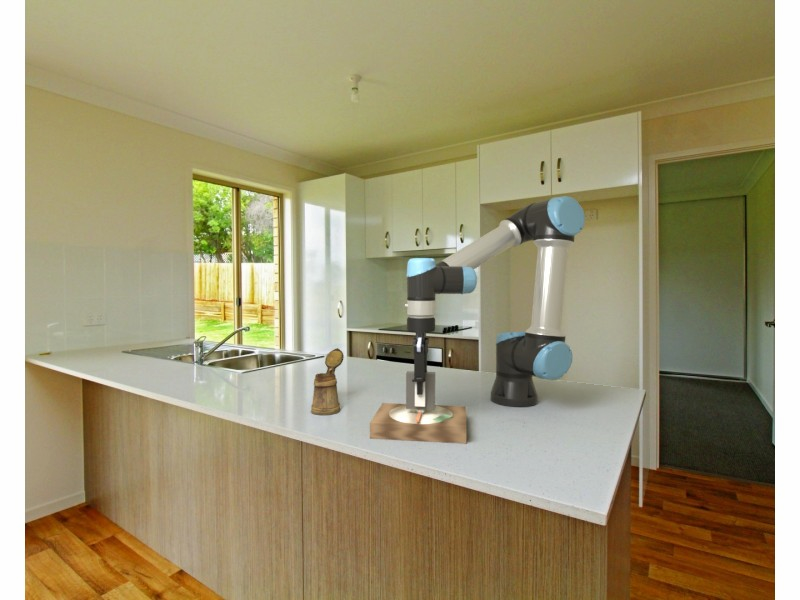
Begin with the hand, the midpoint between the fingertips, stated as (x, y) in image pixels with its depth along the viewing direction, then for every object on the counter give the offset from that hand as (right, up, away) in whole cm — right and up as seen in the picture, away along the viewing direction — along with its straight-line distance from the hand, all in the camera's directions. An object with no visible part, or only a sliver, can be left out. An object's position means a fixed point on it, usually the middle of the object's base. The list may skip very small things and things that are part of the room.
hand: (420, 403), depth 116 cm
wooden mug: (-28, -6, +19) cm, 34 cm away
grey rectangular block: (-1, -3, -4) cm, 5 cm away
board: (0, -7, 0) cm, 7 cm away
